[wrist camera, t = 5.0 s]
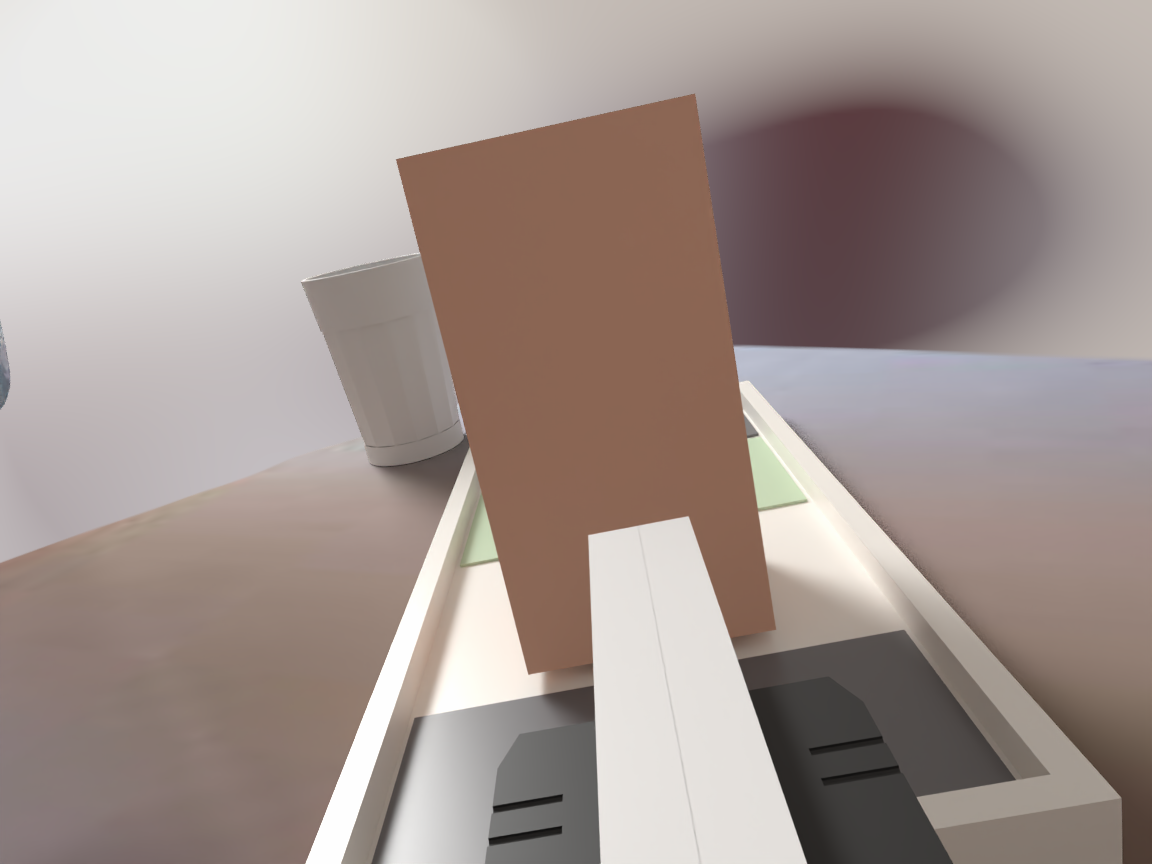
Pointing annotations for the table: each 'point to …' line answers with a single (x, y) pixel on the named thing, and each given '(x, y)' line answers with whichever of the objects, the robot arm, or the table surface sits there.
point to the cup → (389, 357)
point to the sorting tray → (786, 655)
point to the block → (591, 356)
